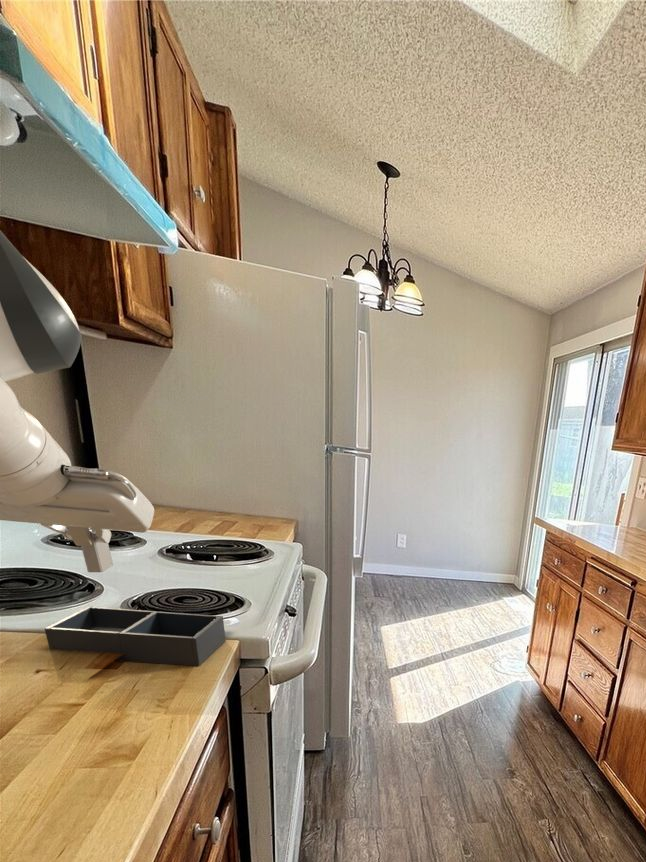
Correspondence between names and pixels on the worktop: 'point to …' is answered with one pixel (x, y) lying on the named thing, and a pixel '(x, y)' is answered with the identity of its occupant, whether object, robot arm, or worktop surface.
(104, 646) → the sorter
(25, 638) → the worktop surface
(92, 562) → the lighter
